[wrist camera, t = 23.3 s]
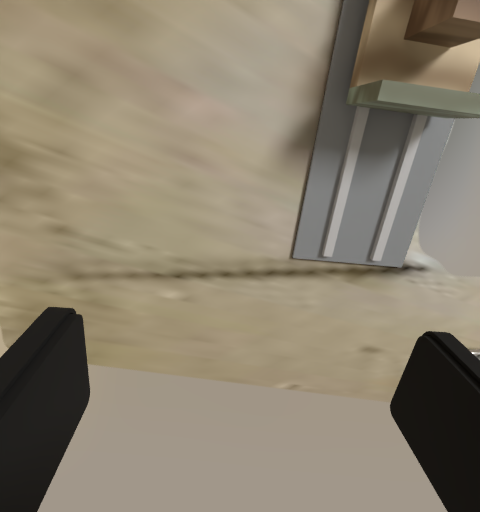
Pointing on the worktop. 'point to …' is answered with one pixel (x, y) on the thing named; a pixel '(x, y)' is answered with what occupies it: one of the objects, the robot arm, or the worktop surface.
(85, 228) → the worktop surface
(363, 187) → the rail track
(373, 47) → the multicoloured piece
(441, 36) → the walnut block
